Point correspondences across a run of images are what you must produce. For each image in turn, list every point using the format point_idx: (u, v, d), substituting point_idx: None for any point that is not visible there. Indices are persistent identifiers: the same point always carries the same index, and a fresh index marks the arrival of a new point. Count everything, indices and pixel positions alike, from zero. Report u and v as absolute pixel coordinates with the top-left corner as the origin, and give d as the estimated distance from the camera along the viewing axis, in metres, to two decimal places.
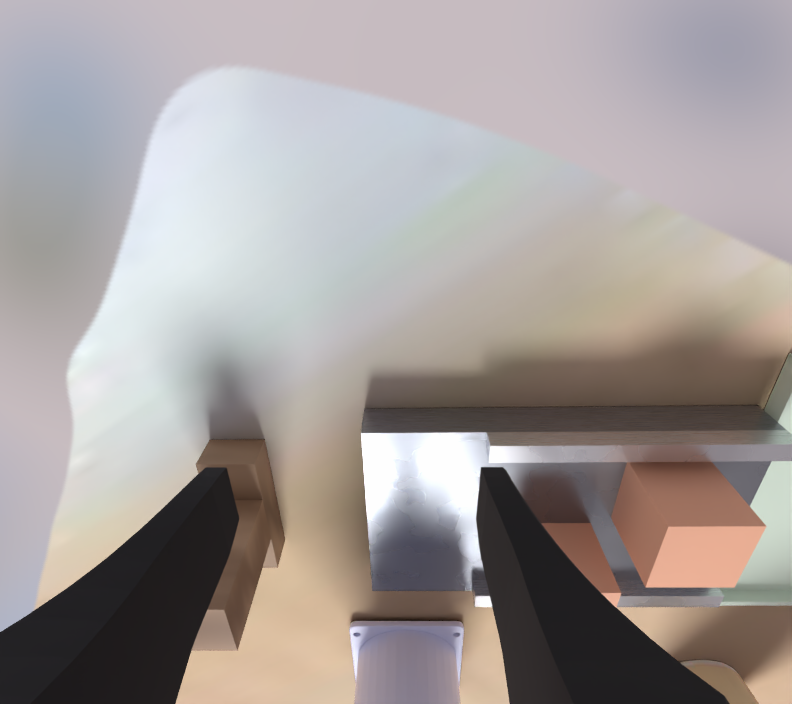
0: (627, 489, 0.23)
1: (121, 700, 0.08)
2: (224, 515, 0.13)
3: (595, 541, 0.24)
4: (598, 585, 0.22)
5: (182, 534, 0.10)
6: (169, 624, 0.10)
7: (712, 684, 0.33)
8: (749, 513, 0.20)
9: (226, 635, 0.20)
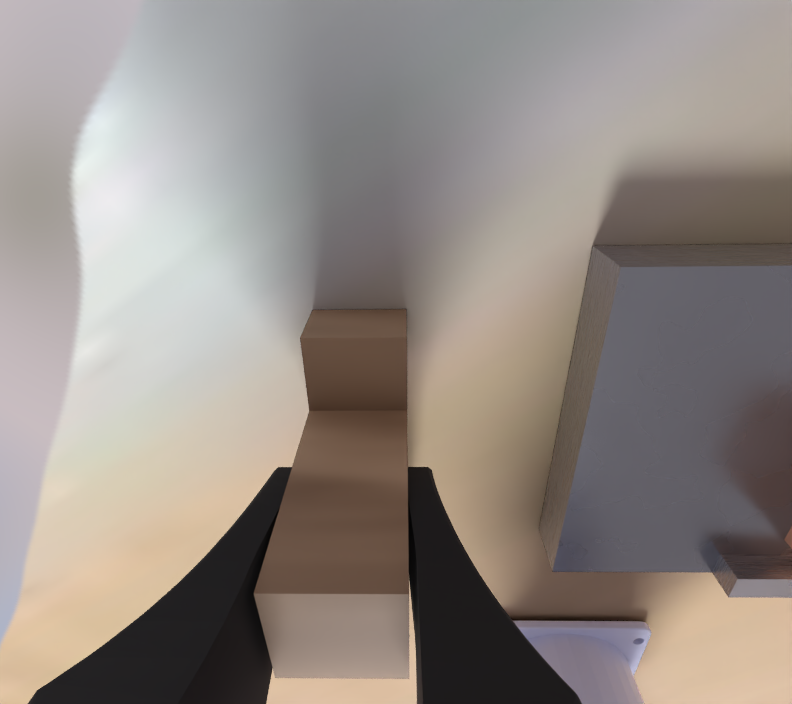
0: None
1: (232, 701, 0.08)
2: None
3: None
4: None
5: (271, 534, 0.10)
6: None
7: None
8: None
9: (396, 649, 0.10)
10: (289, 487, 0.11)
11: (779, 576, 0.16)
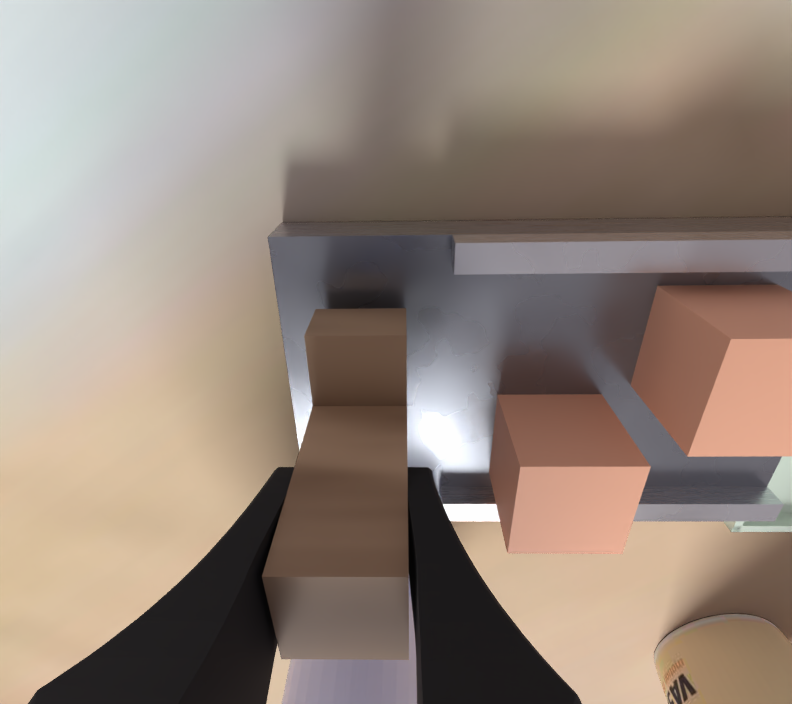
0: (656, 328, 0.16)
1: (232, 701, 0.08)
2: None
3: (609, 412, 0.17)
4: (616, 458, 0.15)
5: (271, 534, 0.10)
6: (262, 625, 0.10)
7: (751, 641, 0.26)
8: None
9: (397, 630, 0.10)
10: (294, 479, 0.12)
11: (479, 501, 0.19)
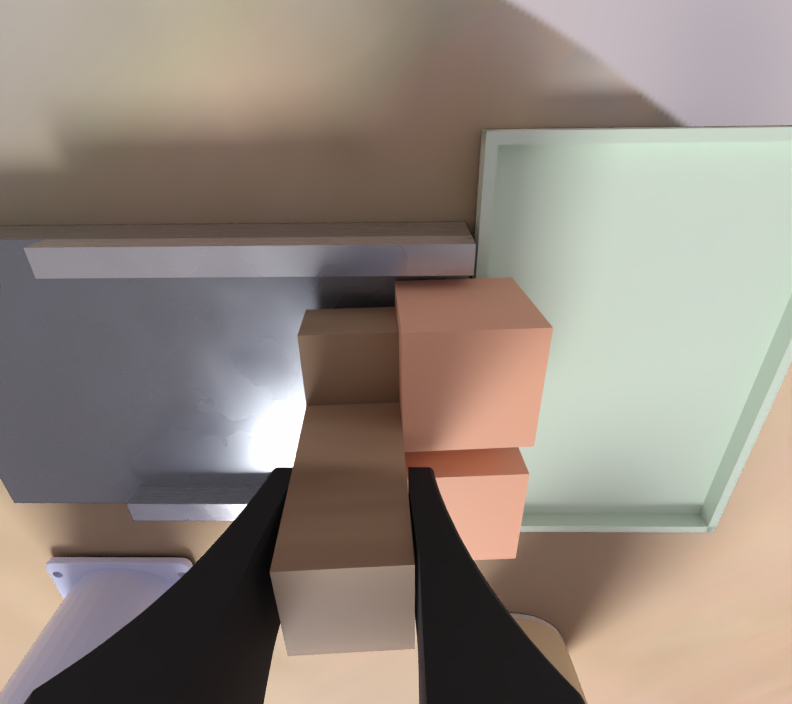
0: None
1: (229, 701, 0.08)
2: None
3: None
4: (498, 466, 0.15)
5: (268, 534, 0.10)
6: (259, 625, 0.10)
7: None
8: (535, 317, 0.13)
9: (403, 619, 0.10)
10: (293, 477, 0.12)
11: (163, 501, 0.20)
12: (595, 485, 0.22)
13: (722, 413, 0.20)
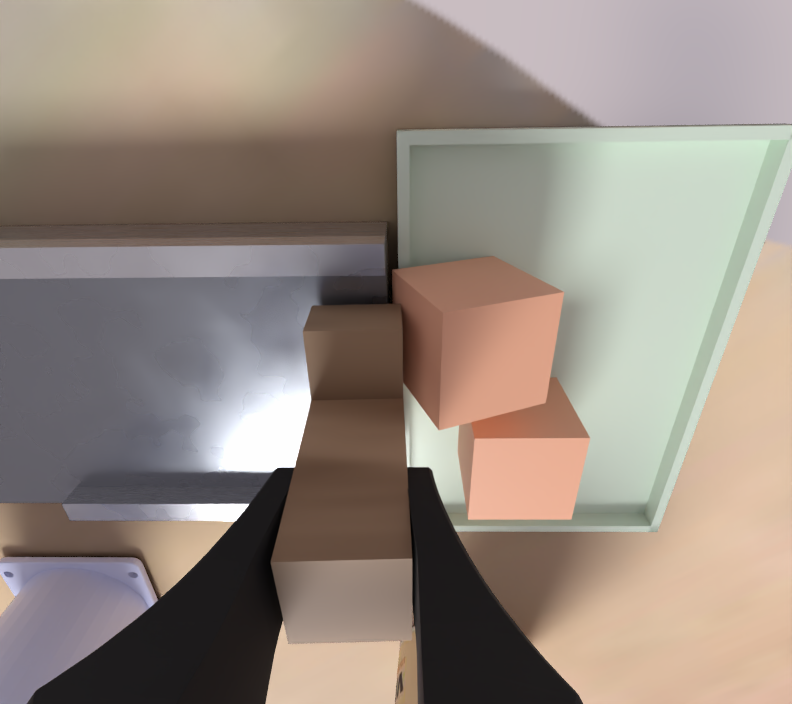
0: None
1: (231, 701, 0.08)
2: None
3: None
4: (553, 388, 0.19)
5: (270, 534, 0.10)
6: (261, 625, 0.10)
7: None
8: (543, 285, 0.14)
9: (400, 611, 0.11)
10: (296, 470, 0.12)
11: (98, 501, 0.20)
12: None
13: (658, 412, 0.20)
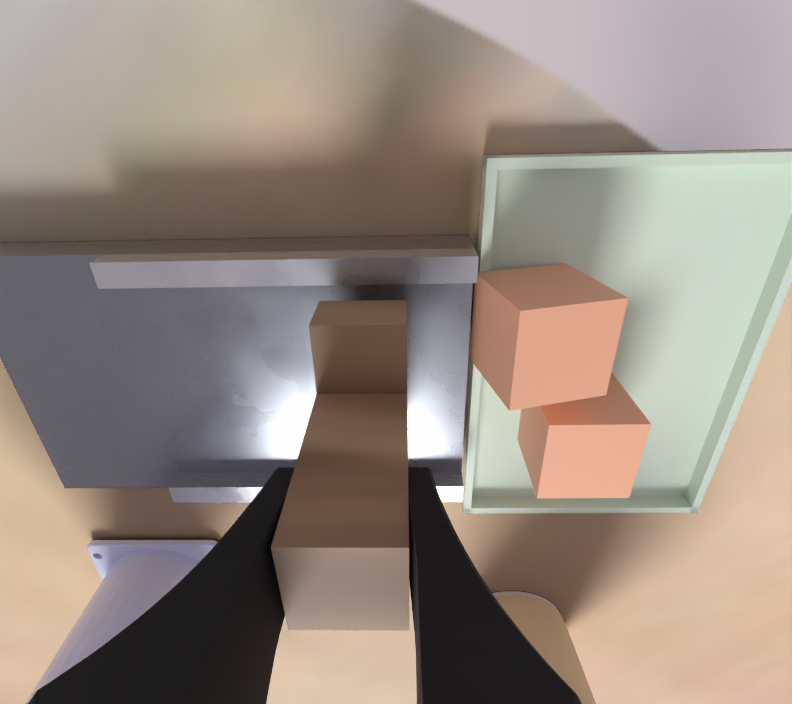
0: (479, 308, 0.19)
1: (232, 701, 0.08)
2: None
3: None
4: (610, 382, 0.21)
5: (270, 534, 0.10)
6: (262, 625, 0.10)
7: (513, 615, 0.28)
8: (609, 291, 0.16)
9: (398, 601, 0.11)
10: (299, 460, 0.12)
11: (200, 485, 0.22)
12: None
13: (701, 403, 0.22)
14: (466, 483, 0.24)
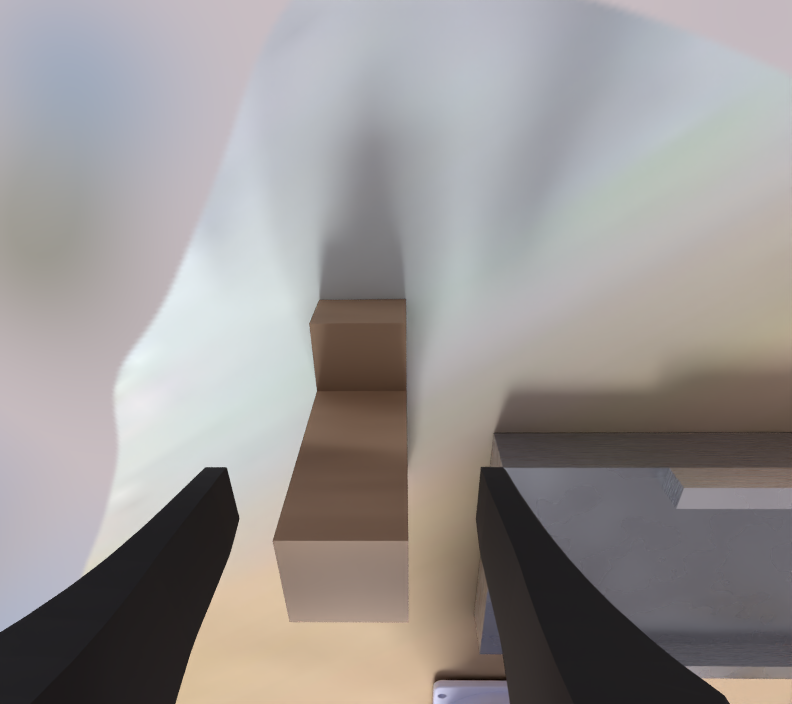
0: None
1: (121, 700, 0.08)
2: (224, 515, 0.13)
3: None
4: None
5: (182, 534, 0.10)
6: (169, 624, 0.10)
7: None
8: None
9: (397, 593, 0.11)
10: (300, 456, 0.13)
11: None
12: None
13: None
14: None
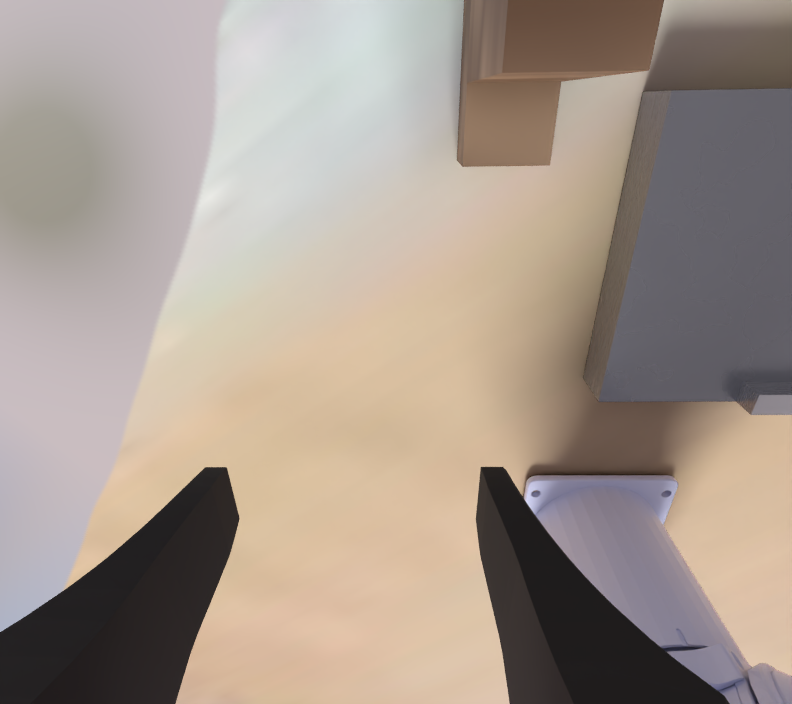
0: None
1: (121, 700, 0.08)
2: (224, 515, 0.13)
3: None
4: None
5: (182, 534, 0.10)
6: (169, 624, 0.10)
7: None
8: None
9: (650, 0, 0.09)
10: None
11: None
12: None
13: None
14: None
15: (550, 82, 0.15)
